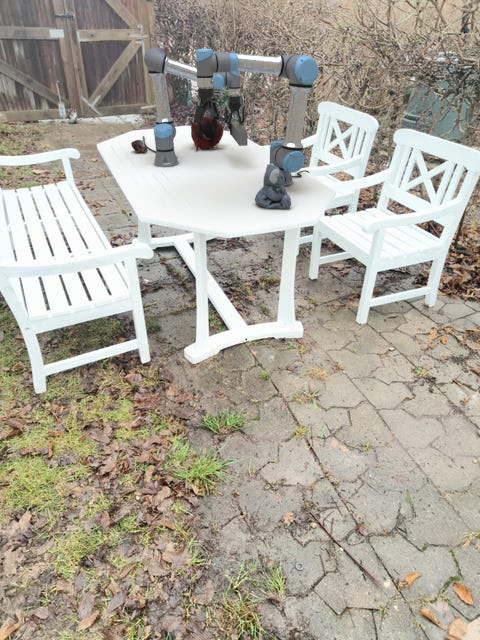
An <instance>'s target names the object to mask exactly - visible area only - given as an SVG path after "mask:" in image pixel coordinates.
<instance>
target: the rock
mask: <svg viewBox="0 0 480 640" xmlns="http://www.w3.org/2000/svg"><path fill="white" fill-rule="evenodd" d="M130 146H131V148H132V149H133V150H134V152H135V153H146V152H148V150H149V149H148V148H147V147H146V146H145V145H144V142H143V139H134V140H133V141H131V143H130Z"/></svg>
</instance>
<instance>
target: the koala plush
mask: <svg viewBox="0 0 480 640" xmlns="http://www.w3.org/2000/svg"><path fill="white" fill-rule="evenodd" d="M285 182H286V177H284V176H283V173H282V172H281V171H280V169H279V168H278V167H275V166H274V164H271V163H270V162H269V163H267V165H266V168H265V172H264V175H263V186H262V188H260V189H259V190H258V191H257V193H256V194H255V197H254V202H255V204H256V205H257V206H261V207H262V208H264V209H280V210H284V209H289V208H291V207H292V201H291V196H290V194H288V192H287V189H286V186H282V185H283V184H284V183H285ZM281 186H282V187H281Z"/></svg>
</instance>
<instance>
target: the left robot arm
mask: <svg viewBox="0 0 480 640" xmlns="http://www.w3.org/2000/svg"><path fill="white" fill-rule="evenodd" d="M143 61H144V65H145V66H146V68H147V73H148V75H149V76H150V78H151V83H152V89H153V96H154V97H153V98H154V103H155V109H156V116H157V118H156V120H155V125H154V127H153V135H154V145H155V150H154V149H152V148H150V147H149V146H148V145H147V144H146V142H145V139H146V138H145V135H143V136H142V141H143V145H144V146H145V147H146V148H147V150H149V151H151V152H153V153H155V155H154V160H153V161H154V165H155V166H157V167H163V168H164V167H165V168H167V167H168V168H169V167H174V166H177V165H178V164H179V158H178V156H177V153H176V151H175V143H174V139H175V137H176V135H177V128H176V126H175V119H174V118H173V117H172V115H171V108H170V107H171V106H170V101H169V99H170V98H169V93H168V85H167V77H166V75H167V74H170V75H174V76H177V77H180V78H184V79H187V80H190V81H193V82H195V83H197V69H196V65H195V66H194V65H192V64H189V63H185V62H182V61H179V60H176V59H174V58H170V57H169V55H167V54H166V52H165V51H164V50H163V49H162V48H161V47H158V46H152V47H150V48H149V49H147V50H145V52H144V55H143ZM213 81H214V82H213V87H212V88H213V89H214V90H215V89H216V90H220V89H222V88H223V87H224V86H228V104H227V105H226V106H224V107H223V108H224V122H225V124H227V130H229V135H230V136H231V135H232V125H231V124H230V123H231V122H232V118H233V114H234V113H235V112H236V114H237V118H238V122H239V123H240V124H241V125H242V126H243V124H244V123H245V120H246V119H245V109H246V106H245V105H242V102H241V71H236V72H217V73H213ZM240 109H241V114H240ZM228 110H229V111H228ZM228 113H229V115H228Z"/></svg>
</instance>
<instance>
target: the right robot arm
mask: <svg viewBox="0 0 480 640" xmlns="http://www.w3.org/2000/svg"><path fill="white" fill-rule="evenodd" d="M195 67H196V69H197V82H196V83H197V84H196V87H197V97H198V98H199V100H196V102H195V112H194V117H193V123H194V124H196V125H197V136H198V139H203V125H202V121H203V117H205V114H206V112H207V111H208V112H209V115H210V117H212V118H213V119H212V133H215V134H217V121H218V120H220V112H219V108H218V105H217V98H216V97H215V88H214V87H213V82H214V81H213V73H217V72H236V71H240V72H244V73H245V72H246V73H256V74H257V73H258V74H269V75H274V76H275V77H278V78H279V77H280V78H284V79H287V80H288V88H289V89H290V97H289V104H288V112H287V120H286V129H285V136H284V140H283V139H282V140H281V139H280V140H273V141H271V142H270V144H269V164H270V163H271V164H274V166H275V167H278V168H279V169H280V171H281V172H282V173H283V176H284V177H286V182H285V183H284V184H283V185H282V186H281V187H283V186H284V187H288V186H290V185H293V178H302V174H301V173H304V172H305V173H308V174H310V171H309V170H306V169H305V170H302V168H304V165H305V163H306V157H305V155H304V152H303V151H304V144H303V143H302V140H303V139H302V138H303V132H304V125H305V118H306V110H307V104H308V97H309V92H310V91H311V90H312V89H313V85H314V83H315V81H316V80H317V79H318V77H319V72H320V71H319V64H318V62H317V60H316V59H315V58H314V57H311V56H309V55H303V54H297V53H293V54H277V55H275V56H271V55H262V54H252V53H251V54H250V53H240V52H239V53H238V52H229V51H228V52H226V51H219V50H213V49H211V48H198V49H196V51H195ZM294 173H296V175H292V174H294ZM307 229H308V228H305V231H304V234H305V236H307V233H308V232H307Z"/></svg>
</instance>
